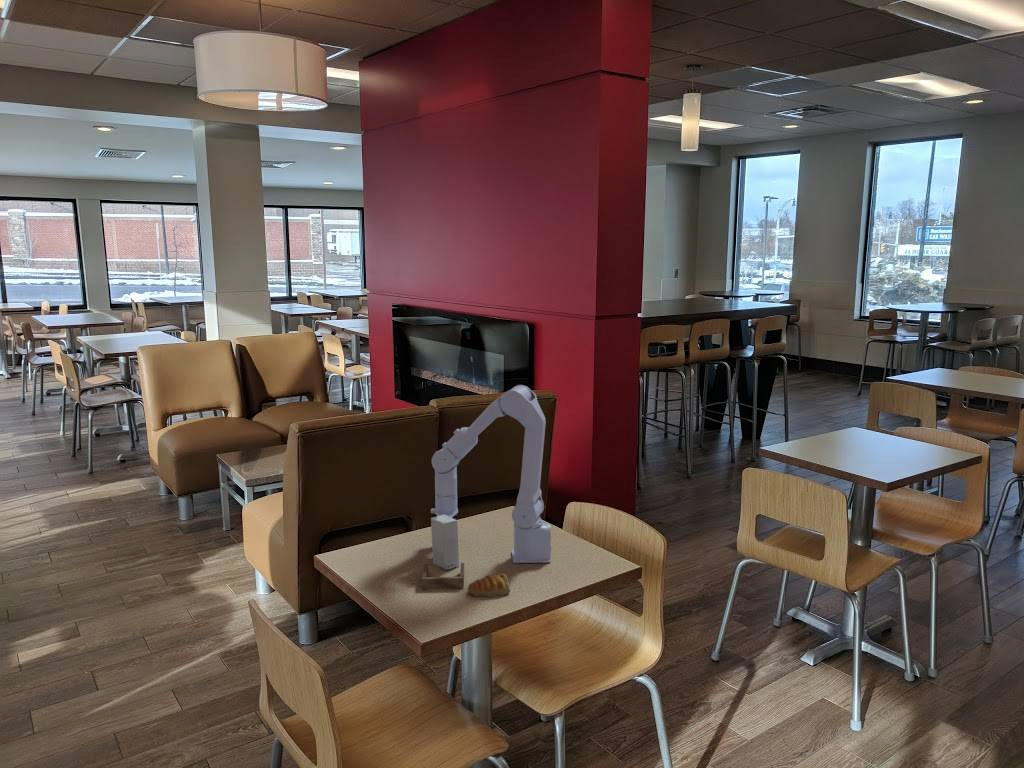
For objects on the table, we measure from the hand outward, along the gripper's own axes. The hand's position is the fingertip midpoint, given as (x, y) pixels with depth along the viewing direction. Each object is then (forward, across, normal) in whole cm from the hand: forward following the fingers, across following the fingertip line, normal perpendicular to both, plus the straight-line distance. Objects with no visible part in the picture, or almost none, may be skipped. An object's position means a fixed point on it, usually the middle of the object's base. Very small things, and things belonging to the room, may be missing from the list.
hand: (446, 543), depth 196 cm
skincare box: (+2, +11, 0) cm, 11 cm away
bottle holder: (+2, +20, 0) cm, 20 cm away
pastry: (+2, +26, +11) cm, 29 cm away
